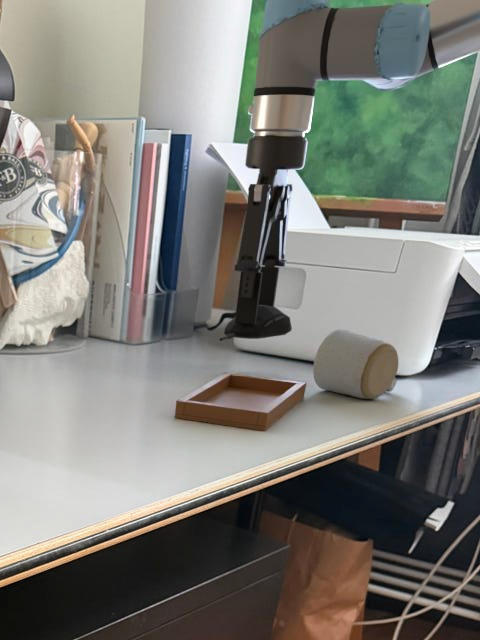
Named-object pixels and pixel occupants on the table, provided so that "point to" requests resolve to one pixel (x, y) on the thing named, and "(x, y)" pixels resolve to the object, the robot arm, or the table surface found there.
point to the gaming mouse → (260, 325)
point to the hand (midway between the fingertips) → (254, 319)
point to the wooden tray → (241, 401)
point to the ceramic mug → (355, 365)
